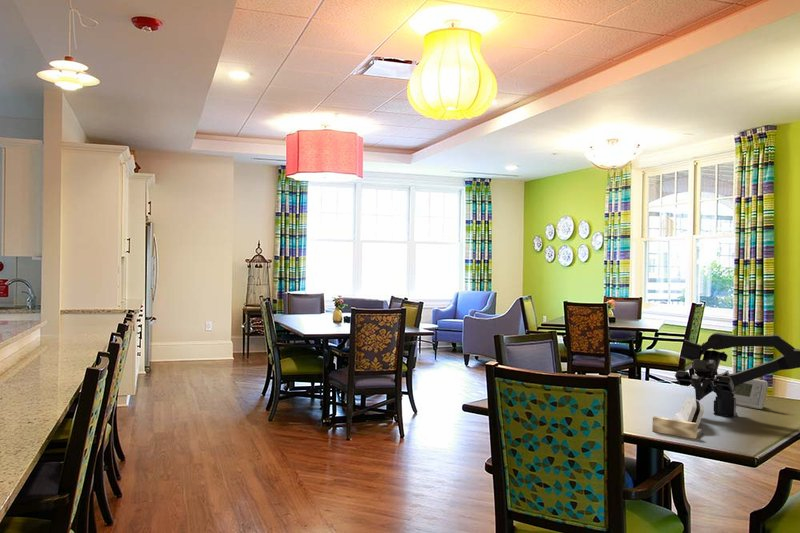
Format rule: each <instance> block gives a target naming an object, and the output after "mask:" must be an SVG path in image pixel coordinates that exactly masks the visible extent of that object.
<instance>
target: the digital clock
mask: <svg viewBox="0 0 800 533" xmlns="http://www.w3.org/2000/svg"><path fill="white" fill-rule="evenodd" d="M768 387H769V382H768V381H767V380H763V379H758V378H756V379H753V380H750V381H747V382H744V383H742V384H739V385H738V386H736V387H734V390H735V391H736V392H735V395H734V398H736V406H740V407H744V408H749V409H757V410H763V409H764V406H765V401H766V397H767V391H768Z"/></svg>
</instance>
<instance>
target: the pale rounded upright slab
mask: <svg viewBox="0 0 800 533" xmlns="http://www.w3.org/2000/svg"><path fill="white" fill-rule="evenodd" d="M704 413H705V409H704V404H703V402H702V401H701V400H700V401H699V400H696V398H694V397H689V396H688V397H686V398H685V400H684V402H683V404H682V406H681V409H680V411H679V412H677V413H675V414H674V416H673V419H675V420H681V421H687V422H694V423H697V429H698V428H699V426H700V423H701V421H702V417H703V415H704Z"/></svg>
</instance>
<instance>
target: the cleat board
mask: <svg viewBox="0 0 800 533" xmlns="http://www.w3.org/2000/svg"><path fill="white" fill-rule="evenodd" d="M651 431H652V432H654V433H660V434H666V435H670V436H678V437H682V438H687V439H688V438H689V439H694V440H695V439H697V438H699V437H700V436H701V435H703V428H699V427H698V428H697V423H694V422H687V421H681V420H675V419H674V418H667V417H662V416H654V415H653V416H652V430H651Z"/></svg>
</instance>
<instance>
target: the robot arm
mask: <svg viewBox="0 0 800 533" xmlns="http://www.w3.org/2000/svg"><path fill="white" fill-rule="evenodd" d="M737 347H774V349H776V350H777V351H778V352H779V353H780V354H781V356H778V357H777V358H775V359H773V360H769V361H767V362H764V363H761V364H758V365H756V366H753V367H750V368H746V369H745V370H744V369H743V370H741V371H738V372H736V373H730V372H729V370H726V371H724V372H722V373H718V369H719V367H720V366H719V365H720V364H721V361H722V362H725V363H726V362H727V360H728V354H727V353H726V352H725V351H720V350H727V349H731V348H737ZM679 356H680V359H684V360H686V361H687V360H688V361H691V362H693V363H692V366H691V368H692V369H693V370H694V372H693V373H694V374H692V375H690V373H689V371H684V370H677V371H676V372H675V374H674V377H675V380H676V382H677V383H678V386H679V385H680V386H683V387H690V386H691V385H692V387H693V389H694V391H695V400H699V401H700V402H701V400H702V399H704V398H705V397H706V396H708V395H709V394H711V393H713V392H714V393H715V395H716V396H715V399H714V400H713V415H717V416H722V417H728V418H729V417H730V418H734V417H736V416H737V415H738V412H737V405H736V398H734V395H735V392H736V391H735V390H734V387H736V386H738V385H739V384H742V383H744V382H747V381H750V380H753V379H758V378H762V377H764V376H768V375H771V374H773V373H777V372H779V371H785V370H786V371H787V370H793V369H799V368H800V349H799V348H795V347H794V346H793V345H791V344H790V343H789V342H788V341H786V340H784V339H783V338H782V336H781V335H778V334H770V335H768V334H767V335H766V334H765V335H761V334H760V335H757V334H756V335H734V334H730V333H725V332H724V333H723V332H714V333H712V334H711V335H710V336H709V337H708V339H707V340H706V341H705V342H703V343H702V344H700V343H696V342H692V341H690V340H685V342H684V345H683V346H682V349H681V352H680V355H679Z"/></svg>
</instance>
